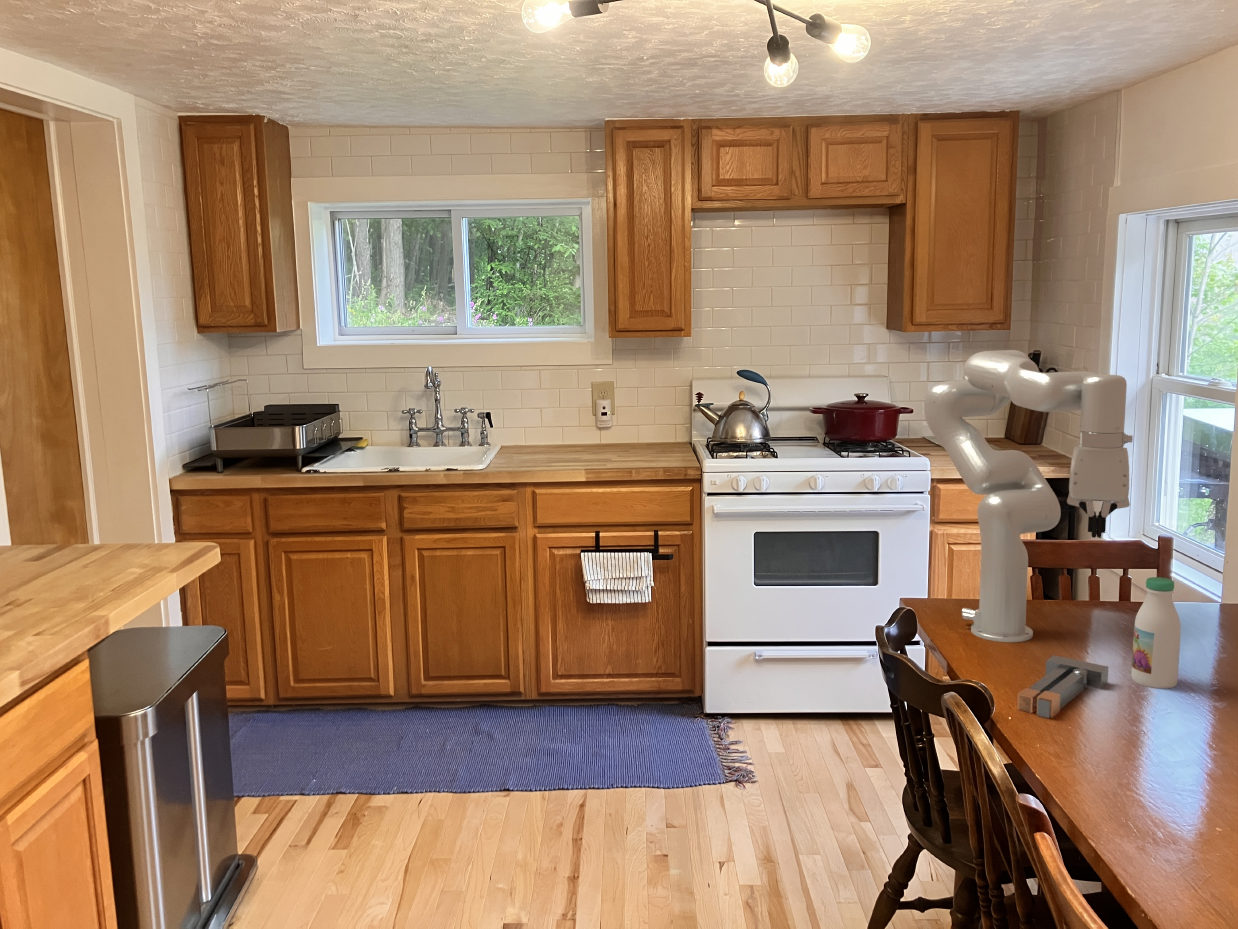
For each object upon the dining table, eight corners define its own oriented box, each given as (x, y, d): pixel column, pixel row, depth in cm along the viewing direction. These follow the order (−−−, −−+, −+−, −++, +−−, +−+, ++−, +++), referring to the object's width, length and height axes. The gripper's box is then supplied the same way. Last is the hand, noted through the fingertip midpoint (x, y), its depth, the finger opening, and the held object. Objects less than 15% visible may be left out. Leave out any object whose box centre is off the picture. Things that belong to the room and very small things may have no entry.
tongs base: (1006, 708, 179) (1006, 689, 178) (1052, 672, 195) (1053, 655, 195) (1064, 722, 172) (1065, 703, 171) (1107, 684, 189) (1108, 666, 188)
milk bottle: (1173, 677, 191) (1179, 575, 188) (1180, 692, 184) (1188, 586, 181) (1128, 673, 194) (1134, 573, 191) (1134, 687, 187) (1140, 583, 184)
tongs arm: (1074, 683, 188) (1075, 667, 188) (1089, 687, 187) (1089, 670, 186) (1035, 715, 175) (1036, 697, 174) (1050, 719, 173) (1051, 701, 172)
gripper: (1144, 439, 189) (1138, 534, 191) (1057, 437, 194) (1053, 529, 197) (1148, 444, 182) (1142, 543, 185) (1058, 442, 187) (1053, 537, 190)
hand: (1096, 536), depth 191 cm, fingers closed
